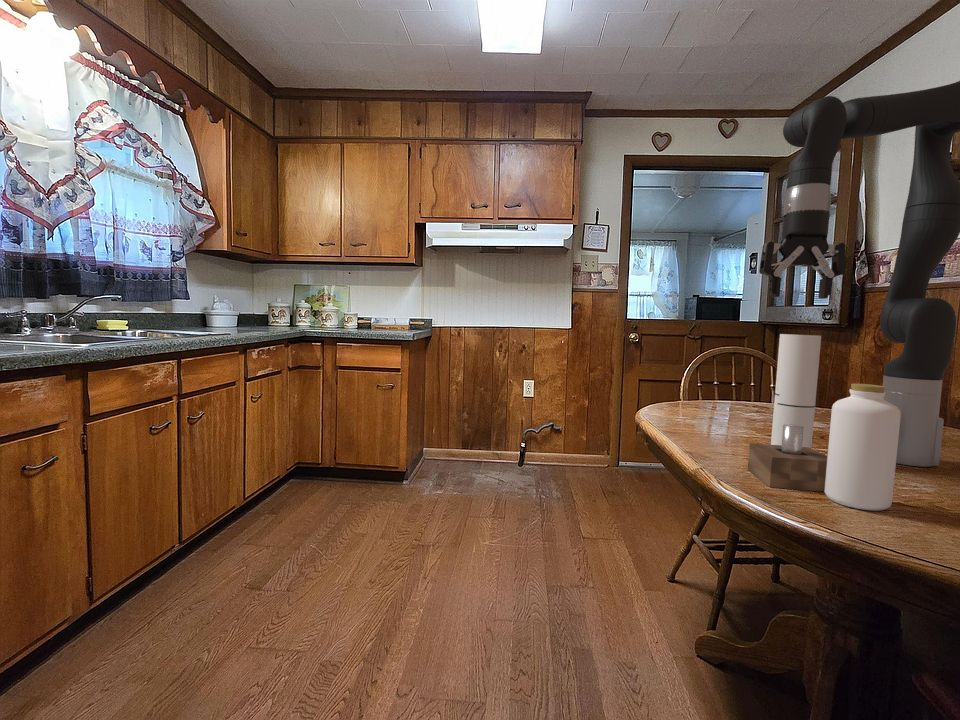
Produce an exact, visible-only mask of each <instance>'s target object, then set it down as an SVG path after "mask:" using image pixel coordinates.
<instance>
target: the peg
mask: <svg viewBox="0 0 960 720" xmlns="http://www.w3.org/2000/svg"><path fill="white" fill-rule="evenodd" d="M803 430H804V427H803V426H799V425H792V424H784V425H783V434H782V446H781V453H783V454H791V455H801V453H802V441H803Z"/></svg>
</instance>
